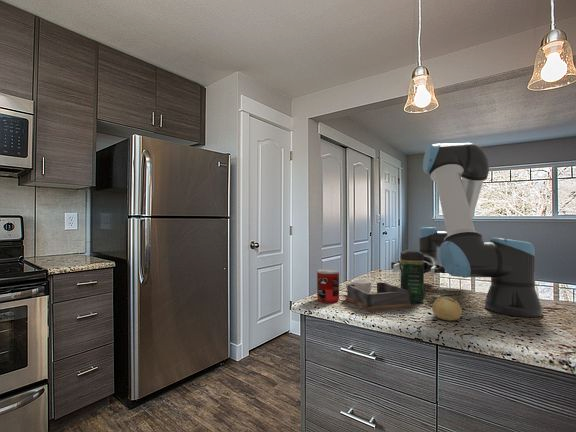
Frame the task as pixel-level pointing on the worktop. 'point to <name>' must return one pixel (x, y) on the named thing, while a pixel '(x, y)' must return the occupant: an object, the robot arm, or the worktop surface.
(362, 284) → the teacup
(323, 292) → the canned food
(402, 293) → the tray
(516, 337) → the worktop surface
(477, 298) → the worktop surface
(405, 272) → the coffee jar
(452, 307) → the onion
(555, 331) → the worktop surface
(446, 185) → the robot arm
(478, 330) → the worktop surface
